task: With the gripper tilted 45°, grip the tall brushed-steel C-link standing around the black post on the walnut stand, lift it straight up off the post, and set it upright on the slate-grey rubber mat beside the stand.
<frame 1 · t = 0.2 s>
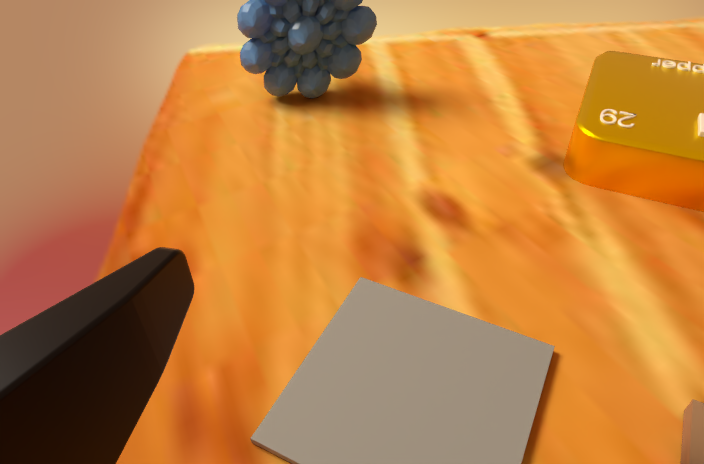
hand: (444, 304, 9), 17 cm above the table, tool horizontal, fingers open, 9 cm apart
element tile: (673, 155, 42), on the table
slate mat: (411, 393, 26), on the table
blue ball cluster: (311, 94, 49), on the table
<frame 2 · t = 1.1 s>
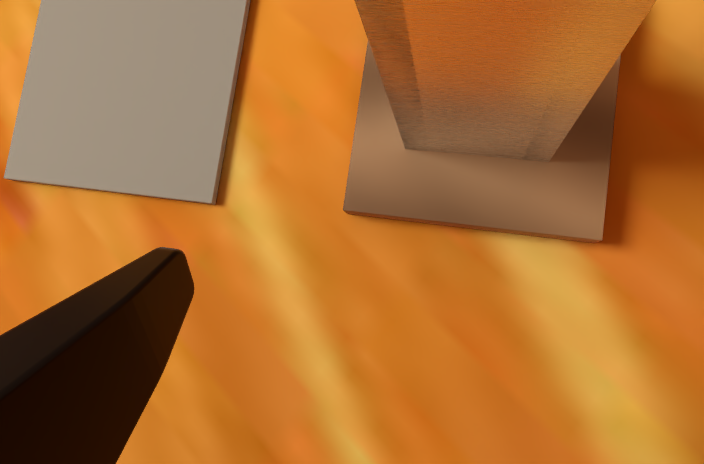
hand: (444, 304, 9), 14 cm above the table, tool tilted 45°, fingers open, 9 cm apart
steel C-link: (481, 101, 22), point 1 cm above the table, touching walnut stand
slate mat: (129, 80, 26), on the table
walnut stand: (480, 110, 23), on the table
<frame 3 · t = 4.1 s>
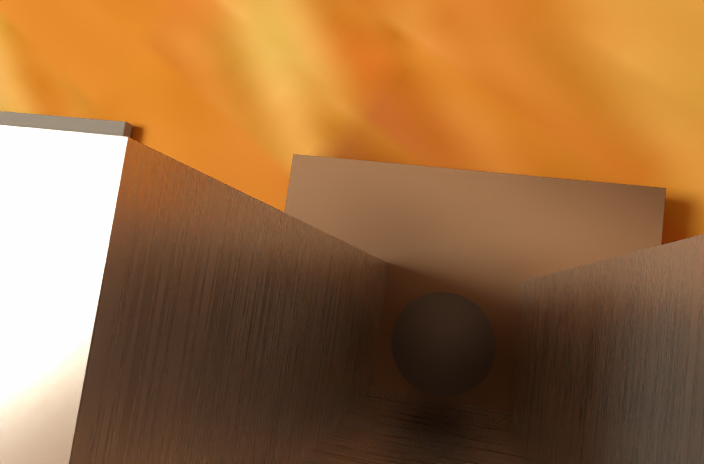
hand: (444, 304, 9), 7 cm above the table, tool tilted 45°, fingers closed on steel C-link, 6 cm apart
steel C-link: (444, 353, 14), point 1 cm above the table, touching gripper, walnut stand
walnut stand: (445, 350, 15), on the table
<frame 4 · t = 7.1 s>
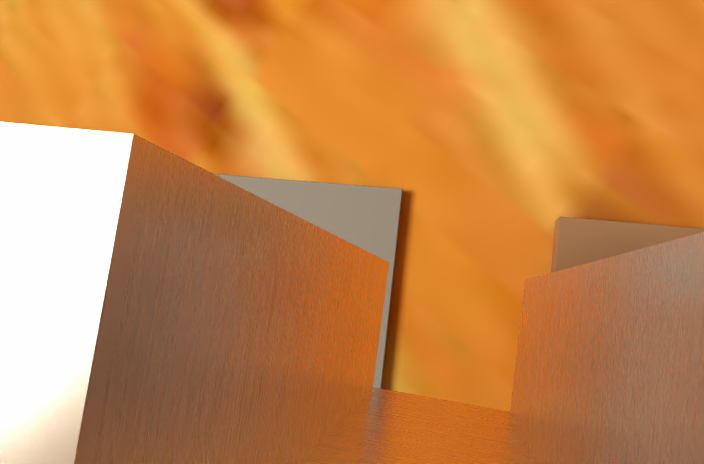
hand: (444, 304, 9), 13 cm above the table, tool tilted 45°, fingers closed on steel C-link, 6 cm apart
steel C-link: (445, 353, 14), point 7 cm above the table, touching gripper
slate mat: (262, 306, 23), on the table
walnut stand: (688, 367, 20), on the table
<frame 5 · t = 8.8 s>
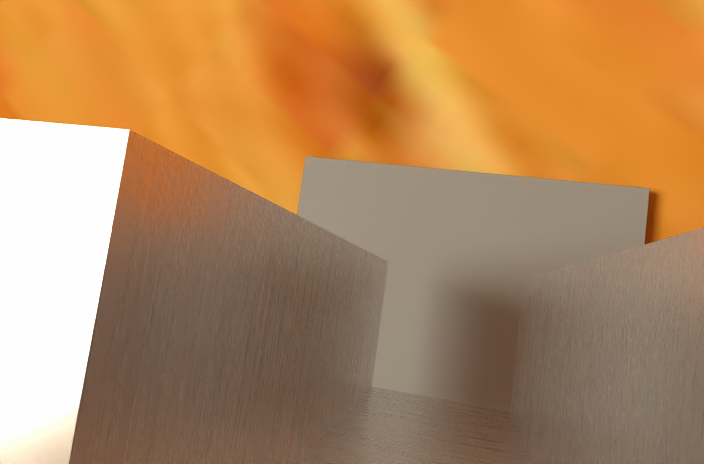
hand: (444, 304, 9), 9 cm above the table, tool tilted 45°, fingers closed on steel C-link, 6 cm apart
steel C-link: (444, 352, 14), point 3 cm above the table, touching gripper
slate mat: (446, 339, 17), on the table
when the fingers open (8 cm above the table, at t = 10.0 s): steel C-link drops 1 cm, resting on slate mat.
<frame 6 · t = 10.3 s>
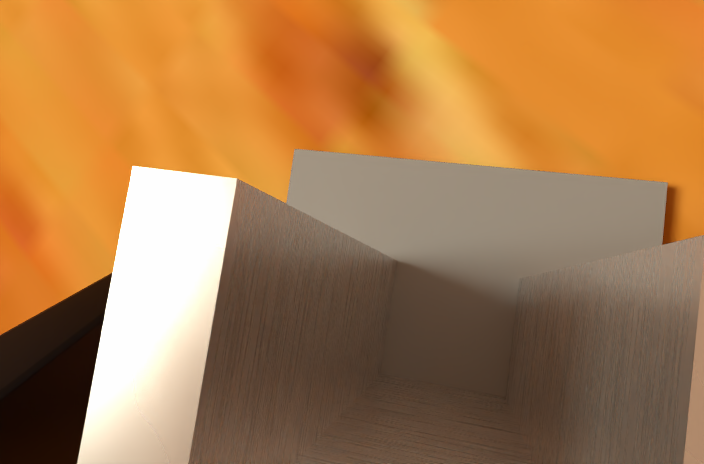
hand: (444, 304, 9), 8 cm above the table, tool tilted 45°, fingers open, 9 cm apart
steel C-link: (447, 343, 16), resting on slate mat
slate mat: (446, 346, 16), on the table
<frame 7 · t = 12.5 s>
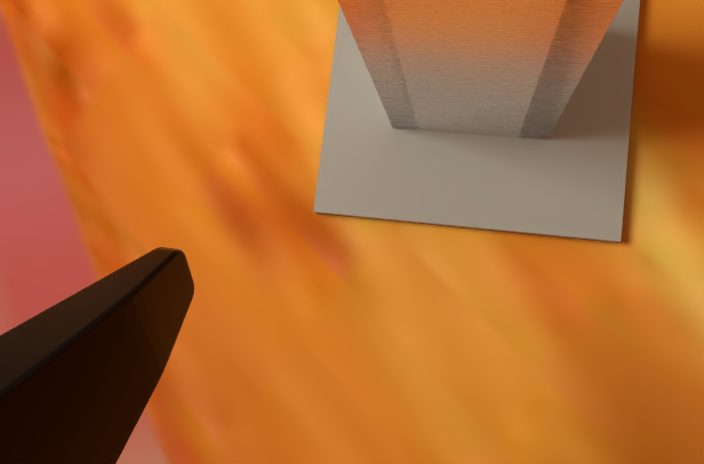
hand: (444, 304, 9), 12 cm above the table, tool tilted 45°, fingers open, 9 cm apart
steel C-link: (474, 76, 20), resting on slate mat
slate mat: (473, 83, 20), on the table
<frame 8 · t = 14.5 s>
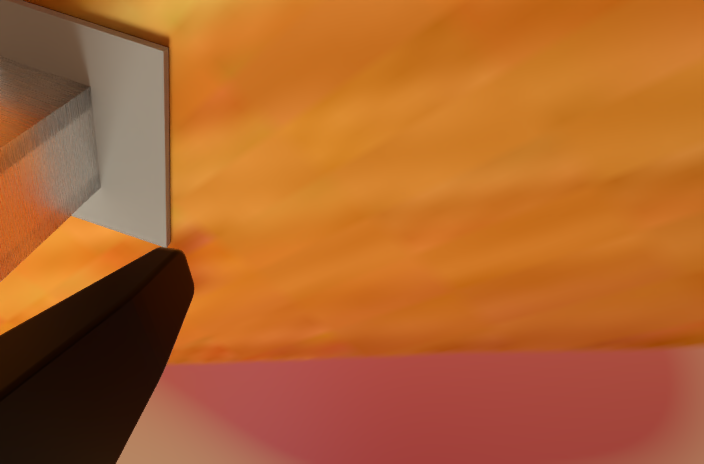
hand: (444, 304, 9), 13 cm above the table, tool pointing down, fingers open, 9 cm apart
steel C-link: (51, 125, 25), resting on slate mat
slate mat: (60, 123, 25), on the table
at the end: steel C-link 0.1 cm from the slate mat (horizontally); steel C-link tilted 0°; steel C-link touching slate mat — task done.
